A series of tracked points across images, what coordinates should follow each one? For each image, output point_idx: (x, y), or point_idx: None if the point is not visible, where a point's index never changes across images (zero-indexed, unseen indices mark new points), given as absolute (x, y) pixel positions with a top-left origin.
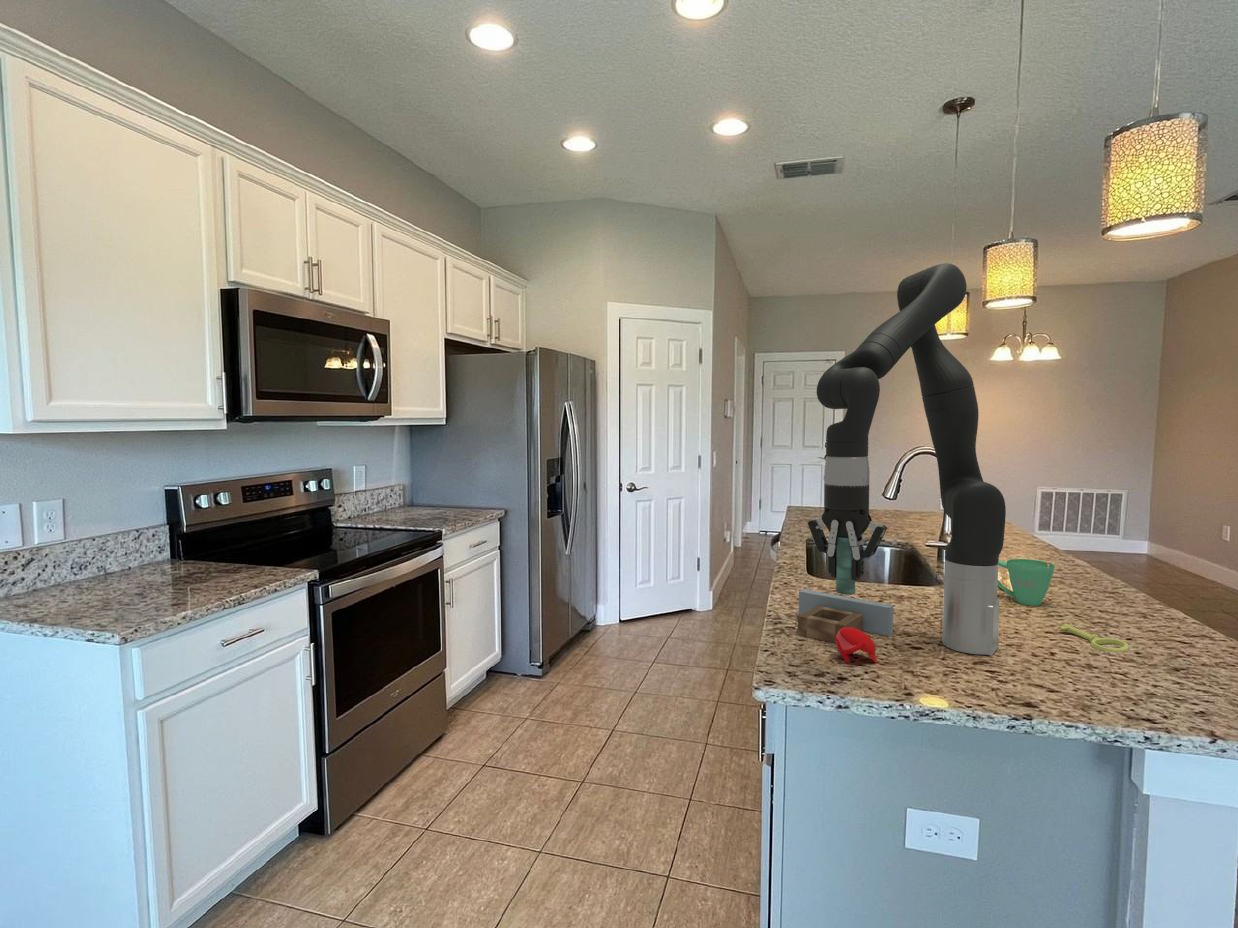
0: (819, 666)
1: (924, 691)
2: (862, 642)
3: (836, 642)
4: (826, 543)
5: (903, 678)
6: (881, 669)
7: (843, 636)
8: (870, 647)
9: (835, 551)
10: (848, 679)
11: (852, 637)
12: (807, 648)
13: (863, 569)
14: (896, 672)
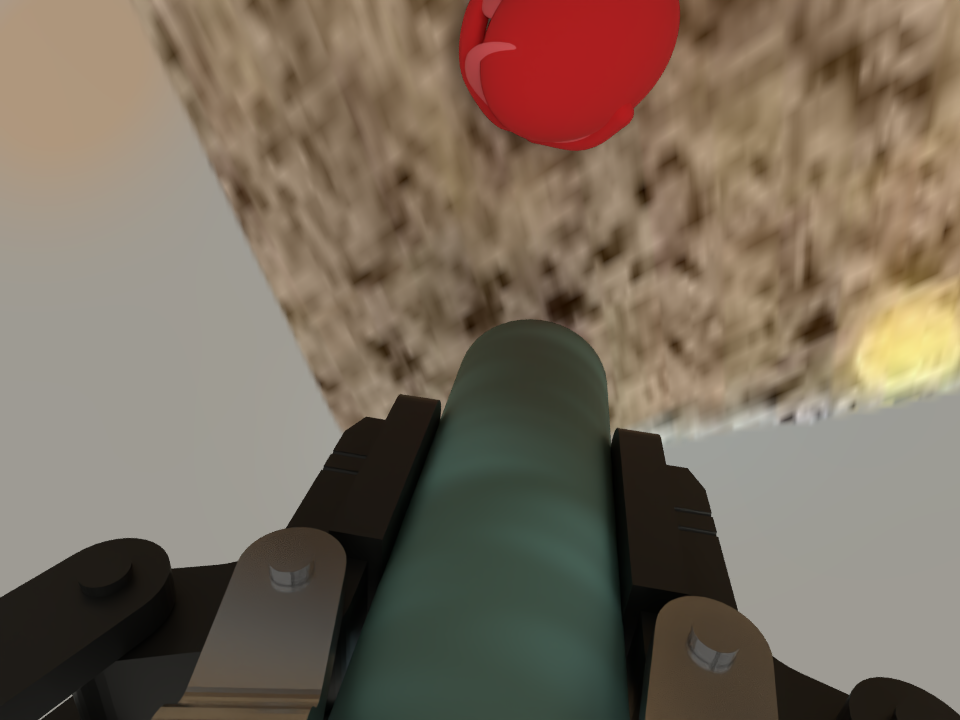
0: (455, 232)
1: (886, 271)
2: (621, 125)
3: (479, 107)
4: (94, 664)
5: (806, 173)
6: (705, 114)
7: (516, 132)
8: (658, 78)
9: (338, 686)
10: (589, 304)
11: (566, 132)
12: (329, 26)
13: (712, 531)
14: (776, 113)
